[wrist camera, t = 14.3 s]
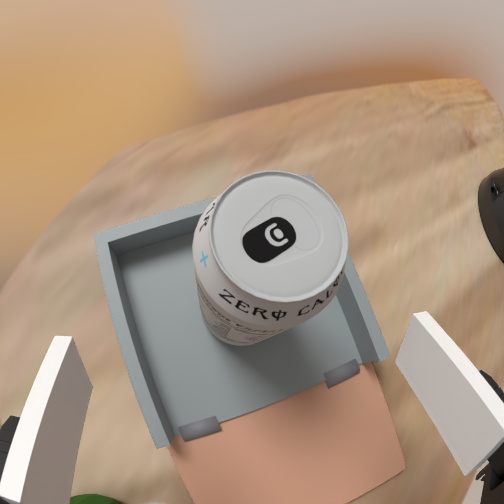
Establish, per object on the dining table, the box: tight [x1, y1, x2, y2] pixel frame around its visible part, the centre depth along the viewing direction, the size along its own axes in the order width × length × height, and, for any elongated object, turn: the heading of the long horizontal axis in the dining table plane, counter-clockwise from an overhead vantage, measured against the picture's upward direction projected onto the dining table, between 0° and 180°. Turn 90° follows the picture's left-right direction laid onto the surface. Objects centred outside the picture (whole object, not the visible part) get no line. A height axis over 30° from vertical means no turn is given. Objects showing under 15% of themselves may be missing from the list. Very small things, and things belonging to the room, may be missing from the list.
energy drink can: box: [192, 170, 349, 346], centre depth 18 cm, size 6×6×15 cm
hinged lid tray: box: [93, 174, 407, 504], centre depth 22 cm, size 18×28×4 cm, turn 20°
